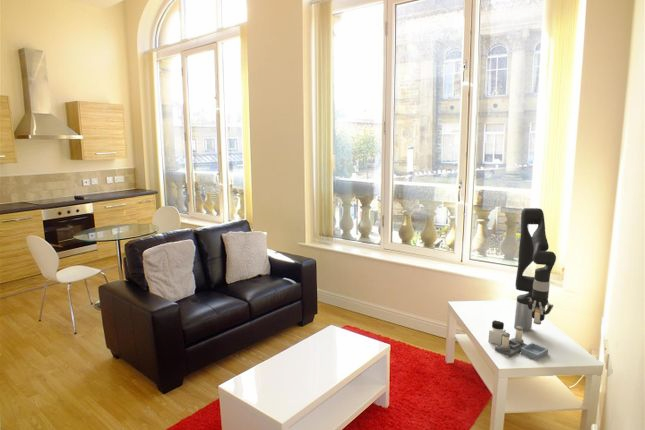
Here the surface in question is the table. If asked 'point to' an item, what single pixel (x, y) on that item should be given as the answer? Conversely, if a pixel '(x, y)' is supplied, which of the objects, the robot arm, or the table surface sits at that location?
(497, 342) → the medicine bottle
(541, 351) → the tray
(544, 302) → the robot arm
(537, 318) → the marked fuse
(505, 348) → the fuse holder
